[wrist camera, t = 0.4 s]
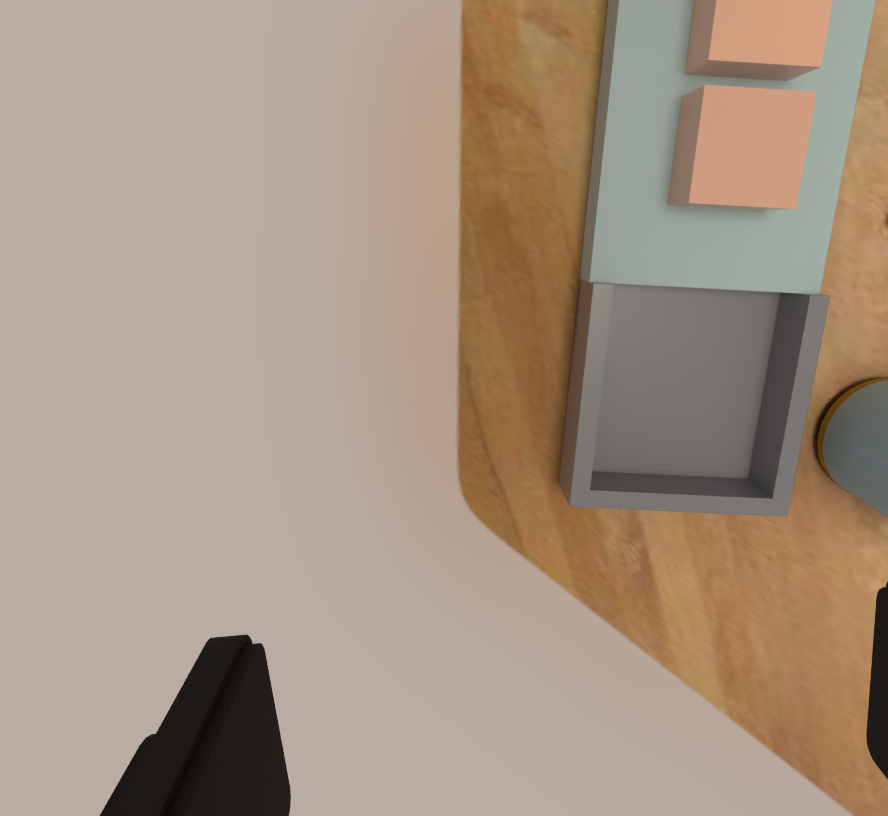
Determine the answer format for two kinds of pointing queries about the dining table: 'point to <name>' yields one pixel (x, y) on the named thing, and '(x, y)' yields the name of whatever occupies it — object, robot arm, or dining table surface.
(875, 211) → the dining table surface
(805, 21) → the tile
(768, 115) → the tile
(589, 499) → the tray
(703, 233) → the pale green lid panel
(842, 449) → the bottle
